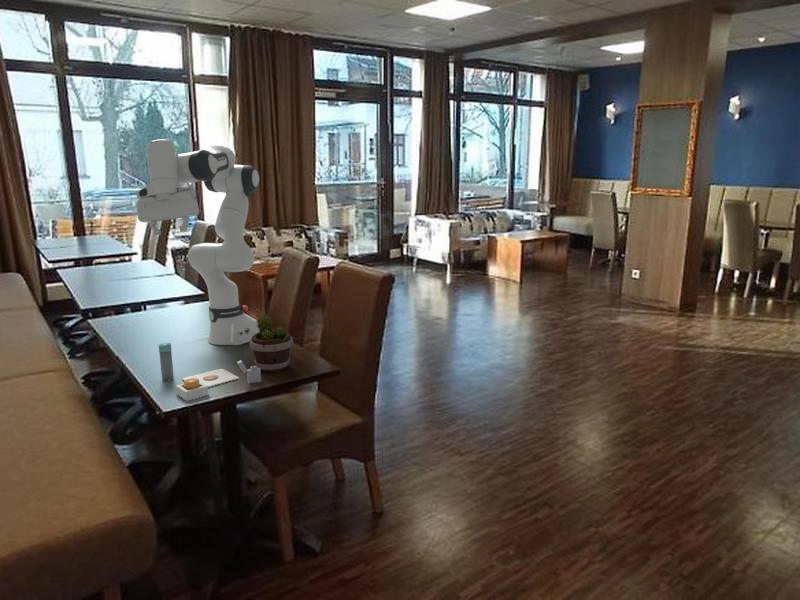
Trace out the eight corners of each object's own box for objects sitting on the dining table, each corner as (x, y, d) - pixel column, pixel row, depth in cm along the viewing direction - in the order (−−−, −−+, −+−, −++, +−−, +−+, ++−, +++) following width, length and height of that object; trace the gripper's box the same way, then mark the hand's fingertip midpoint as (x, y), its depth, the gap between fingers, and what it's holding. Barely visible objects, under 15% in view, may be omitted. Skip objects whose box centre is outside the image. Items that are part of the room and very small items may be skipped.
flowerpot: (303, 367, 203) (301, 312, 198) (264, 378, 193) (261, 320, 188) (279, 357, 213) (277, 304, 209) (242, 367, 203) (238, 312, 198)
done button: (195, 383, 182) (195, 377, 181) (202, 387, 178) (201, 380, 178) (181, 386, 179) (181, 380, 178) (188, 390, 175) (187, 384, 175)
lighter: (259, 379, 192) (258, 356, 190) (261, 381, 190) (260, 358, 188) (238, 383, 188) (236, 360, 186) (239, 385, 187) (238, 361, 185)
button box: (198, 388, 184) (197, 379, 183) (208, 395, 179) (207, 385, 178) (176, 394, 179) (175, 385, 178) (186, 401, 174) (185, 391, 174)
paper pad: (221, 370, 200) (221, 368, 200) (239, 379, 192) (239, 377, 192) (182, 380, 191) (181, 378, 191) (198, 390, 183) (198, 388, 182)
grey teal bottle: (171, 376, 194) (168, 342, 191) (176, 379, 192) (172, 344, 189) (159, 379, 192) (156, 344, 189) (164, 382, 189) (161, 347, 186)
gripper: (200, 187, 186) (205, 230, 187) (144, 195, 191) (149, 237, 191) (189, 184, 180) (194, 228, 181) (131, 193, 185) (136, 236, 185)
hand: (170, 233), depth 186 cm, fingers open, 8 cm apart
